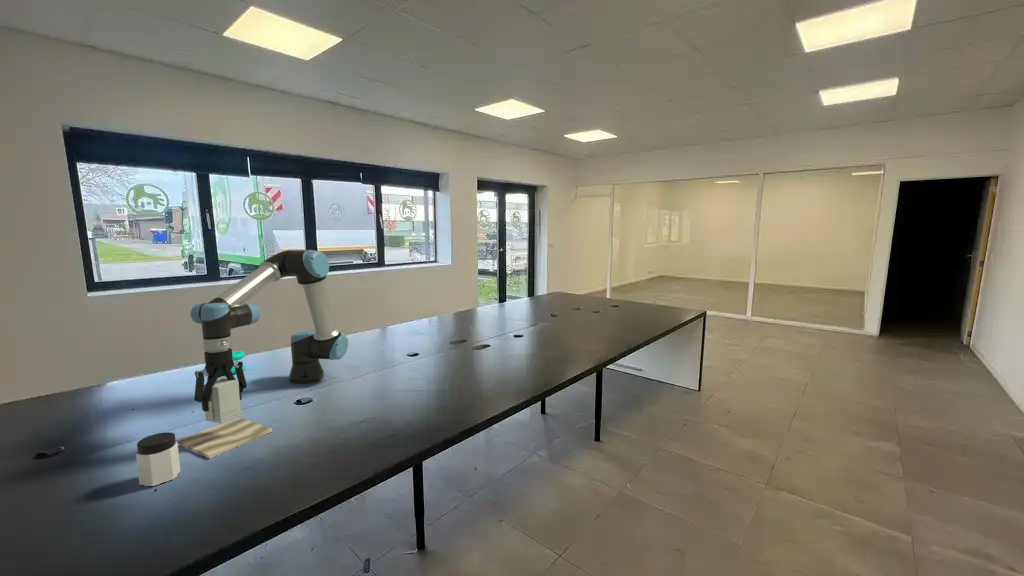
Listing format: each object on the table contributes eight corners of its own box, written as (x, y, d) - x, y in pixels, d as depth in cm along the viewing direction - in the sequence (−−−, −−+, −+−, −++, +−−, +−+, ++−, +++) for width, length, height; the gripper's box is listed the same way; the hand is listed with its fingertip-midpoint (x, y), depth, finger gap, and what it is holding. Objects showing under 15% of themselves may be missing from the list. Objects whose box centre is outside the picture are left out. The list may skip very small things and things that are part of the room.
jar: (177, 466, 122) (173, 428, 120) (183, 477, 117) (179, 437, 115) (137, 480, 115) (132, 440, 113) (142, 491, 110) (137, 450, 108)
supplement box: (242, 415, 141) (239, 380, 139) (220, 424, 134) (217, 387, 132) (226, 412, 143) (224, 377, 141) (205, 420, 136) (201, 384, 134)
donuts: (233, 356, 200) (215, 355, 202) (235, 375, 202) (217, 374, 203) (249, 350, 210) (232, 349, 211) (250, 369, 211) (233, 368, 213)
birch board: (176, 444, 135) (175, 440, 135) (239, 420, 153) (239, 417, 152) (209, 459, 126) (209, 455, 126) (272, 432, 144) (272, 428, 143)
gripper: (188, 359, 125) (194, 429, 127) (256, 343, 143) (260, 405, 146) (175, 355, 128) (182, 424, 131) (243, 341, 146) (248, 402, 149)
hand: (223, 414), depth 138 cm, fingers closed on supplement box, 8 cm apart
